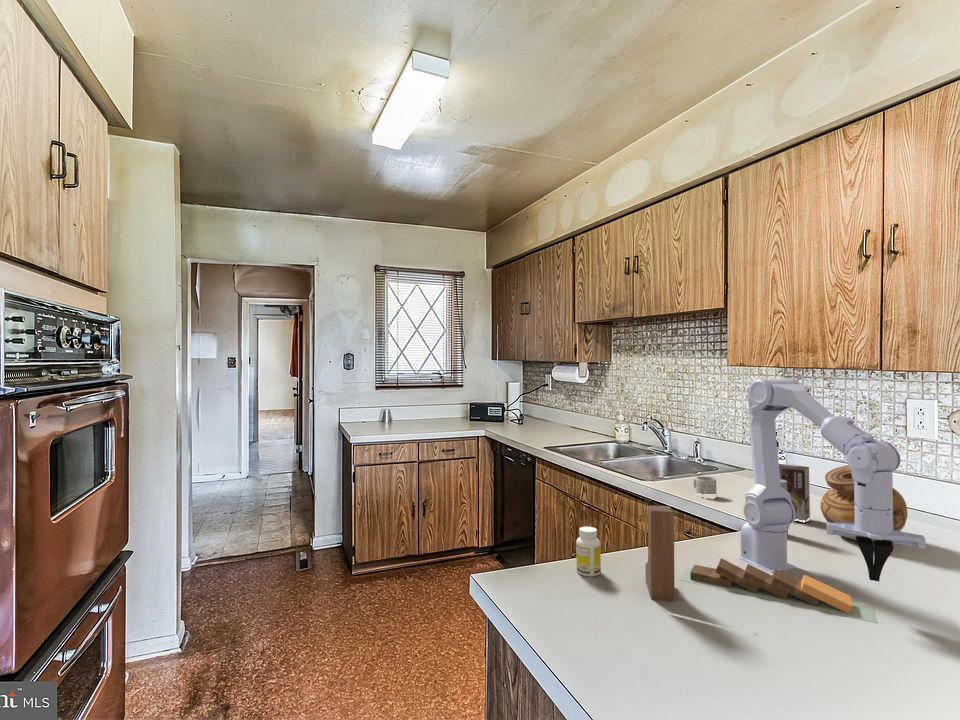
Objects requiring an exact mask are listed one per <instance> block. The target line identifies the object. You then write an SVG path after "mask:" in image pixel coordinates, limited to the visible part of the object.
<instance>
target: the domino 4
mask: <svg viewBox="0 0 960 720" xmlns="http://www.w3.org/2000/svg"><path fill="white" fill-rule="evenodd" d="M801 581H802V580H799V579H797V578H796V577H793V576H791V575H789V574H787V573H785V572H784V571H778V570H776V569H775V571H774V573H772V582H771V585H773V586H775V587H777V588H779V589H782V590H784V591H786V592H788V593H790V594H792V595H794V596H796V597H798V598H800V599H802V600H804V601H806V602H808V603H810V604H812V605H814V606H816V607H817V605H818V602H819V600H820V599H818V598H815V597H813V596H811V595H809V594H807V593H805V592H803V591H801Z"/></svg>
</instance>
